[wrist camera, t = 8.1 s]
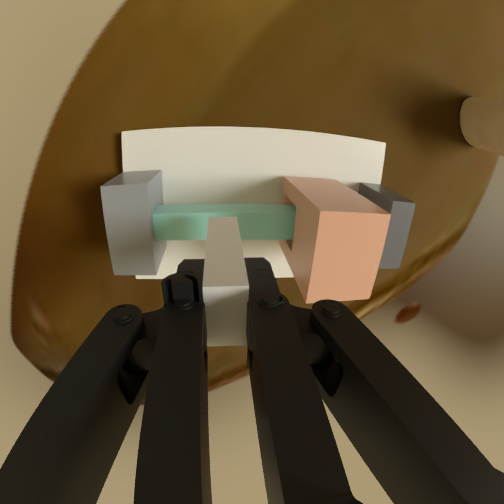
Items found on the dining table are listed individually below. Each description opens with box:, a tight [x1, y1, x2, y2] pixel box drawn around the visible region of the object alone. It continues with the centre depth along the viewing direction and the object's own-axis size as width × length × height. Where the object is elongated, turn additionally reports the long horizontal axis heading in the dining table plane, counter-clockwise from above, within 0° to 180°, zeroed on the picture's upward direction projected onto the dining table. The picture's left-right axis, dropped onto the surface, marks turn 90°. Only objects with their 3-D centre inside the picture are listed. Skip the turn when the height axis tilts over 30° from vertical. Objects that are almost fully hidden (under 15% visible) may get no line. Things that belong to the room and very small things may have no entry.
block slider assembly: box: [100, 126, 416, 279], centre depth 19 cm, size 12×20×6 cm, turn 87°
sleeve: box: [278, 176, 391, 303], centre depth 18 cm, size 5×4×8 cm
